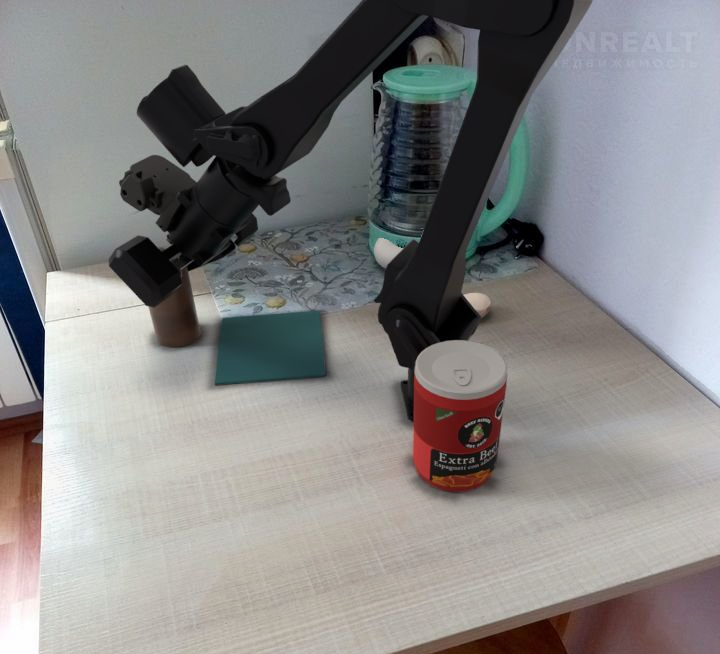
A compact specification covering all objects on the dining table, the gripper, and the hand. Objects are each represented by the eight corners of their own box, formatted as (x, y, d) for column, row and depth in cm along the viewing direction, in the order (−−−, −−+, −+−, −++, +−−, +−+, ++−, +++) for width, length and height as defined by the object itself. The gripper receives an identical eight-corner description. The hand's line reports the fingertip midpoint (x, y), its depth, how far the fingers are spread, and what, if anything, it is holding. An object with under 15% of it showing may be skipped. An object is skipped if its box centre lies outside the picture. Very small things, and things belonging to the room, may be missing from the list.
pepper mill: (204, 341, 83) (186, 251, 76) (160, 351, 82) (137, 260, 74) (196, 321, 87) (177, 233, 79) (153, 330, 85) (130, 241, 78)
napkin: (325, 376, 77) (325, 374, 77) (215, 385, 76) (214, 382, 76) (319, 312, 87) (319, 310, 87) (222, 319, 87) (222, 317, 87)
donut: (430, 243, 102) (364, 252, 100) (431, 219, 99) (363, 229, 97) (458, 272, 94) (387, 283, 92) (460, 248, 92) (387, 259, 90)
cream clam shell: (483, 326, 84) (485, 307, 82) (443, 318, 85) (444, 299, 84) (493, 309, 87) (495, 290, 85) (454, 302, 88) (455, 283, 86)
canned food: (430, 502, 61) (434, 400, 54) (400, 446, 67) (401, 348, 60) (510, 483, 63) (525, 382, 56) (475, 430, 69) (484, 332, 62)
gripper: (219, 107, 74) (158, 198, 85) (96, 165, 61) (43, 262, 73) (291, 193, 76) (222, 270, 87) (186, 265, 64) (122, 344, 75)
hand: (157, 283), depth 81 cm, fingers open, 6 cm apart
